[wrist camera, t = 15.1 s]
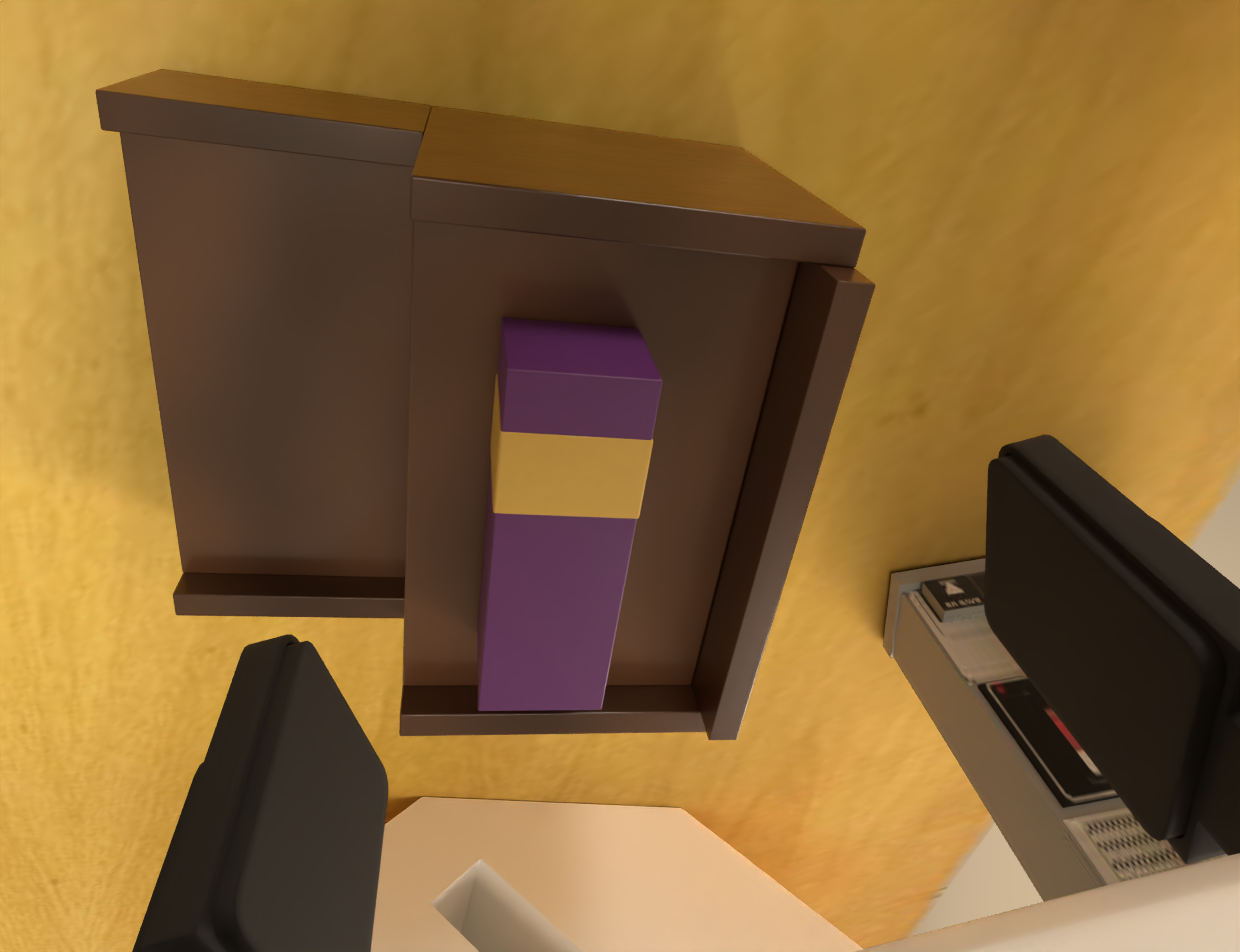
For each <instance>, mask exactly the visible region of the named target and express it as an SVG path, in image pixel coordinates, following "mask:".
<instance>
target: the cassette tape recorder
mask: <svg viewBox="0 0 1240 952" xmlns="http://www.w3.org/2000/svg"><path fill="white" fill-rule="evenodd" d="M984 589H985V558H983V559H977V560H971V561H965V562H959V563H953V564H946V565H940V566H934V567H928V568H922V569H916V570H910V571H903V572H897V573H892V574H891V582H890V591H889V599H888V608H887V616H886V625H885V633H884V642H883V647H884V648H885V650H886V652H887V653H888V655H889V656H890V658H894V659H895V660H896V662H897V663H898V665H899V667H900V668H901V670H902V672H903V673H904V675H905V676H906V678H907V680H908V681H909V683H910V685H911V686H912V688H913V689H914V691H915V693H916V694H917V696H918V698H919V699H920V701H921V702H922V704H923V706H924V707H925V709H926V711H927V712H928V714H929V716H930V717H931V719H932V720H933V722H934V724H935V725H936V727H937V729H938V730H939V732H940V733H941V735H942V737H943V738H944V740H945V742H946V743H947V745H948V746H949V748H950V750H951V751H952V753H953V755H954V756H955V758H956V759H957V761H958V763H959V764H960V766H961V768H962V769H963V771H964V772H965V774H966V776H967V777H968V779H969V781H970V782H971V784H972V785H973V787H974V789H975V790H976V792H977V794H978V795H979V797H980V798H981V800H982V802H983V803H984V805H985V807H986V808H987V810H988V812H989V813H990V815H991V816H992V818H993V820H994V821H995V823H996V825H997V826H998V828H999V829H1000V831H1001V833H1002V834H1003V836H1004V838H1005V839H1006V841H1007V842H1008V844H1009V846H1010V847H1011V849H1012V851H1013V852H1014V854H1015V855H1016V857H1017V859H1018V860H1019V862H1020V863H1021V865H1022V867H1023V868H1024V870H1025V871H1026V873H1027V875H1028V877H1029V878H1030V880H1031V881H1032V883H1033V884H1034V886H1035V888H1036V890H1037V891H1038V893H1039V894H1040V896H1041V898H1042V899H1043V901H1044V902H1045V901H1049V900H1053V899H1057V898H1060V897H1064V896H1068V895H1072V894H1076V893H1080V892H1083V891H1087V890H1091V889H1095V888H1099V887H1103V886H1106V885H1110V884H1114V883H1119V882H1123V881H1127V880H1131V879H1135V878H1139V877H1143V876H1148V875H1152V874H1156V873H1160V872H1164V871H1168V870H1172V869H1176V868H1181V867H1185V866H1189V865H1193V864H1197V863H1201V862H1205V861H1210V860H1214V859H1218V858H1222V857H1226V856H1228V855H1227V854H1225V855H1221V856H1217V857H1214V858H1210V859H1206V860H1202V861H1199V862H1195V863H1191V864H1187V865H1186V864H1185V863H1184V862H1183V860H1182V859H1181V858H1180V856H1179V855H1178V854H1177V853H1176V851H1175V850H1174V849H1173V847H1172V846H1171V845H1170V844H1169V842H1168V841H1167V840H1166V839H1165V840H1161V841H1158V840H1156V839H1154V838H1152V837H1151V836H1150V835H1149V834H1148V833H1147V832H1146V831H1145V830H1144V829H1143V827H1142V826H1141V825H1140V824H1139V822H1138V821H1137V820H1136V818H1135V817H1134V816H1133V814H1132V813H1131V812H1130V811H1129V809H1128V808H1127V807H1126V805H1125V804H1124V803H1123V801H1122V800H1121V799H1120V797H1119V796H1118V795H1117V794H1116V792H1115V791H1114V790H1113V788H1112V787H1111V786H1110V784H1109V783H1108V782H1107V780H1106V779H1105V778H1104V777H1103V775H1102V774H1101V773H1100V771H1099V770H1098V769H1097V767H1096V766H1095V765H1094V763H1093V762H1092V761H1091V760H1090V758H1089V757H1088V756H1087V754H1086V753H1085V752H1084V750H1083V749H1082V748H1081V747H1080V745H1079V744H1078V743H1077V741H1076V740H1075V739H1074V737H1073V736H1072V735H1071V733H1070V732H1069V731H1068V730H1067V728H1066V727H1065V726H1064V724H1063V723H1062V722H1061V720H1060V719H1059V718H1058V716H1057V715H1056V714H1055V713H1054V711H1053V710H1052V709H1051V707H1050V706H1049V705H1048V703H1047V702H1046V701H1045V699H1044V698H1043V697H1042V696H1041V694H1040V693H1039V692H1038V690H1037V689H1036V688H1035V686H1034V685H1033V684H1032V683H1031V681H1030V680H1029V679H1028V677H1027V676H1026V675H1025V673H1024V672H1023V671H1022V669H1021V668H1020V667H1019V666H1018V664H1017V663H1016V662H1015V660H1014V659H1013V658H1012V656H1011V655H1010V654H1009V652H1008V651H1007V650H1006V649H1005V647H1004V646H1003V645H1002V643H1001V642H1000V641H999V639H998V638H997V637H996V635H995V634H994V633H993V631H992V630H991V628H990V626H989V624H988V621H987V618H986V615H985V611H984Z"/></svg>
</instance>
